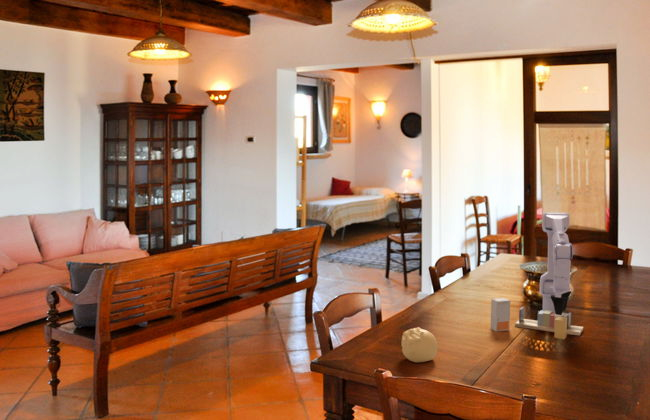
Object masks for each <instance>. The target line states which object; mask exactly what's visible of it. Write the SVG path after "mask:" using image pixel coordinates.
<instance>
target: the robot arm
mask: <svg viewBox="0 0 650 420" xmlns="http://www.w3.org/2000/svg"><path fill="white" fill-rule="evenodd" d="M541 218H542V220H541V223H542V224H541V226H542V227H541V228H542V231H543V232H544V233H546V235H547V271H546V272H545V273H543V274H542V275H541V276H540V278H539V294H540V295H542V309H541V310H542V311H545V310H550V311H552V312H553V313H555V314H556V315H562V313H564V311H566V309H567V305H568V302H569V298H570V296H571V294H572V291H573V290H571V287H570V286H571V283H570V282H571V265H572V264H571V263H572V262H571V260H573V256H574V248H573V244H572V243H571V242H570V240H569V236H568V234H567V233H566V232H567V231H568V228H569V227H570V214H569V212H546V211H544V212H543V213H542V217H541Z"/></svg>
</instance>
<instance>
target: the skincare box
mask: <svg viewBox="0 0 650 420" xmlns="http://www.w3.org/2000/svg"><path fill="white" fill-rule="evenodd" d="M490 303H491V304H490V329H491V330H492V331H495V332H503V331H504V332H505V331H510V317H511V300H510V299H508V298H506V297H502V298H501V297H499V298H491V301H490Z"/></svg>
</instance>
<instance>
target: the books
mask: <svg viewBox="0 0 650 420" xmlns="http://www.w3.org/2000/svg"><path fill="white" fill-rule="evenodd" d="M542 310H543V309H541V310H539V312H538V313H537V320H536V321H537V325H538V326H545V327H552V328H555V319H556V318H557V317H564V318H567V315H568V314H569V313H567V312H563V313H562V315H556V314H555V313H553V312H552V311H550V310H545V311H542Z"/></svg>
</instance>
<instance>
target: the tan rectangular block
mask: <svg viewBox="0 0 650 420" xmlns="http://www.w3.org/2000/svg"><path fill="white" fill-rule="evenodd" d="M567 335H568V334H567V318H564V317H557V318H556V319H555V332H554V339H559V340H565V339H566V338H567Z"/></svg>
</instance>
